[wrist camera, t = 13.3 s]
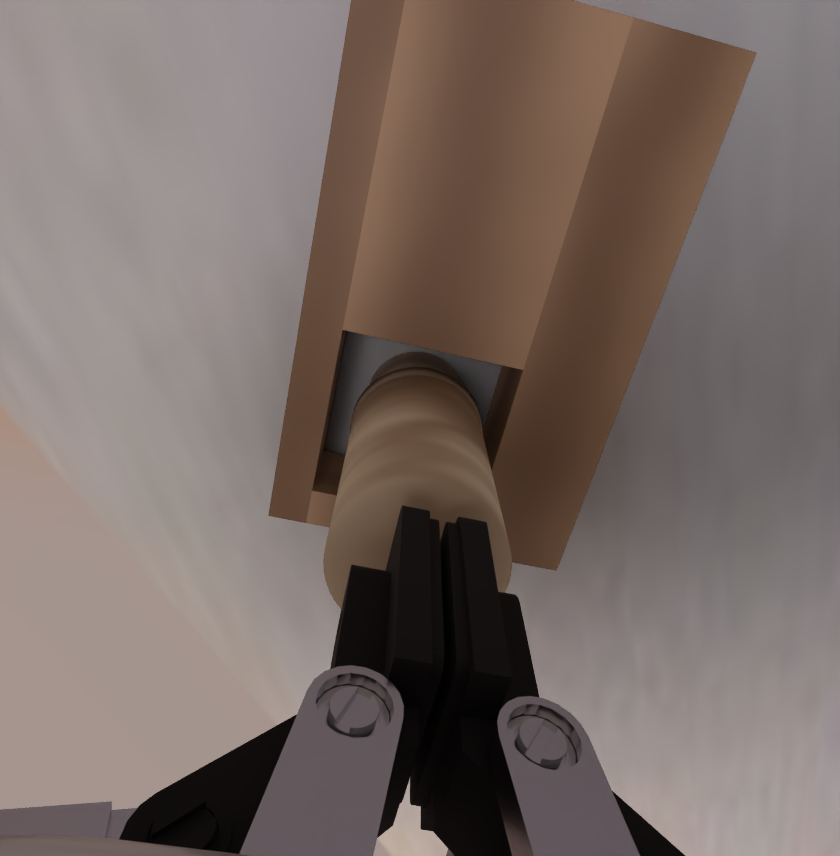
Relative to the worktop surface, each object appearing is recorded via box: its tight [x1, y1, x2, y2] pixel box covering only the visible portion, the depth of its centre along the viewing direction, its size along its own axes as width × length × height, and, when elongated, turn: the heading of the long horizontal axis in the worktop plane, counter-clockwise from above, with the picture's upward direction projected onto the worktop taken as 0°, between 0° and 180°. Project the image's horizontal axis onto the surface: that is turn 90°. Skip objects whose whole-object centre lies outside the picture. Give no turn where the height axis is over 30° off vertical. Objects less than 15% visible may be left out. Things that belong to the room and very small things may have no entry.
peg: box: [324, 352, 512, 609], centre depth 18 cm, size 4×4×10 cm
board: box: [269, 0, 756, 570], centre depth 20 cm, size 10×16×3 cm, turn 167°
